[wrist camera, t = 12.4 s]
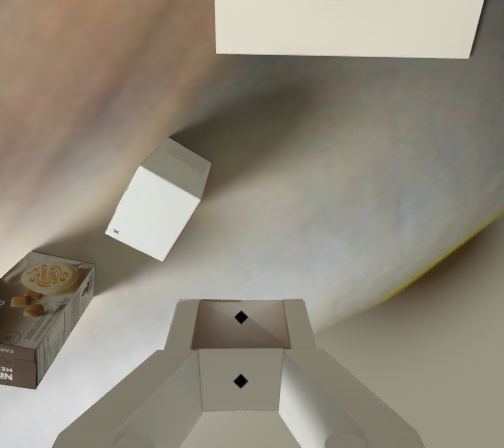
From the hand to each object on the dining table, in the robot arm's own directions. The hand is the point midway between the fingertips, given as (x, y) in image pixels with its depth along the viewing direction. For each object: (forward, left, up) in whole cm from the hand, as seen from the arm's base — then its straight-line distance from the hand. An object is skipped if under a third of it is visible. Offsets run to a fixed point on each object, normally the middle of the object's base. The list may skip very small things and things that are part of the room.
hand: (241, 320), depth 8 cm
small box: (-1, -11, -35) cm, 37 cm away
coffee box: (-3, -34, -35) cm, 49 cm away
